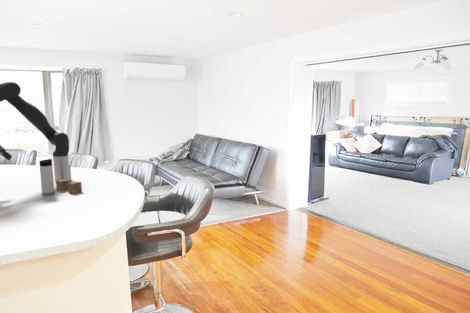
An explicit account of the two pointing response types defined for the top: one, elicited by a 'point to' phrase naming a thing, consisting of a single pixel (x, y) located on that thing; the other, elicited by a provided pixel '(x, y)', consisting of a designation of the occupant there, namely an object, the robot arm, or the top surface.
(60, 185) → the walnut block two
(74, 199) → the top surface
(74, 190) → the walnut block one
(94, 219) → the top surface
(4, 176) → the top surface
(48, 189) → the travel mug
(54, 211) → the top surface
